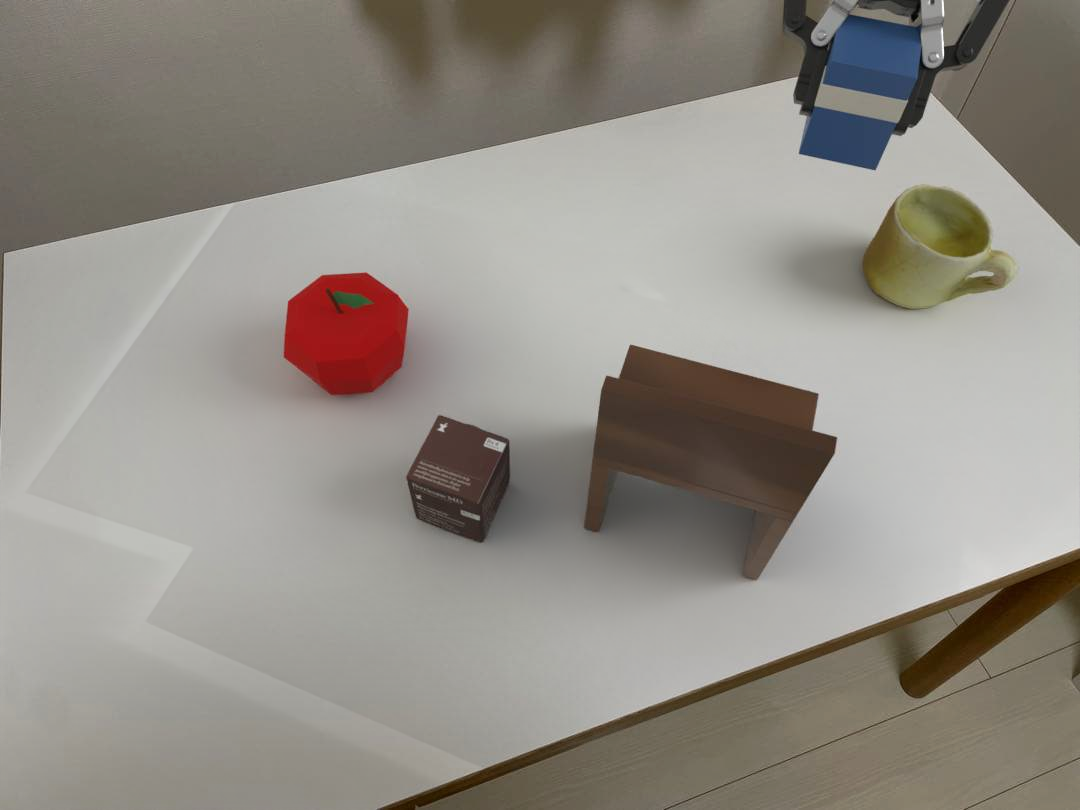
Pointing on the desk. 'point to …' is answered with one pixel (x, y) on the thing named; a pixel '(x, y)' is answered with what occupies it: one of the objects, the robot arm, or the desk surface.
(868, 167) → the carton
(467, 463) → the box
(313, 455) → the desk surface
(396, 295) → the apple
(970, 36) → the robot arm
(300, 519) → the desk surface
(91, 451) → the desk surface
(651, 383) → the chair
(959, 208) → the mug
